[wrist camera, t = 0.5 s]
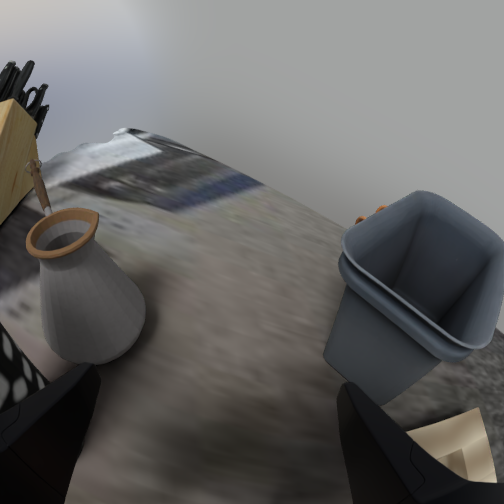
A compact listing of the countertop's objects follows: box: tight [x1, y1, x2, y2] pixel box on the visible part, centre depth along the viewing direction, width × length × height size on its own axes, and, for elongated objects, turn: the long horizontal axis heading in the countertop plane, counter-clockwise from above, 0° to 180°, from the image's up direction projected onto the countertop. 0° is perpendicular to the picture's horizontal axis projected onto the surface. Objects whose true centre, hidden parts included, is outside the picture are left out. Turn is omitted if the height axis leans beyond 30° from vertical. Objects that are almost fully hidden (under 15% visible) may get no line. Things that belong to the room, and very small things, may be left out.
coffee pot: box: [25, 159, 146, 365], centre depth 24 cm, size 21×12×15 cm, turn 47°
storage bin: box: [323, 191, 504, 405], centre depth 25 cm, size 21×16×14 cm
